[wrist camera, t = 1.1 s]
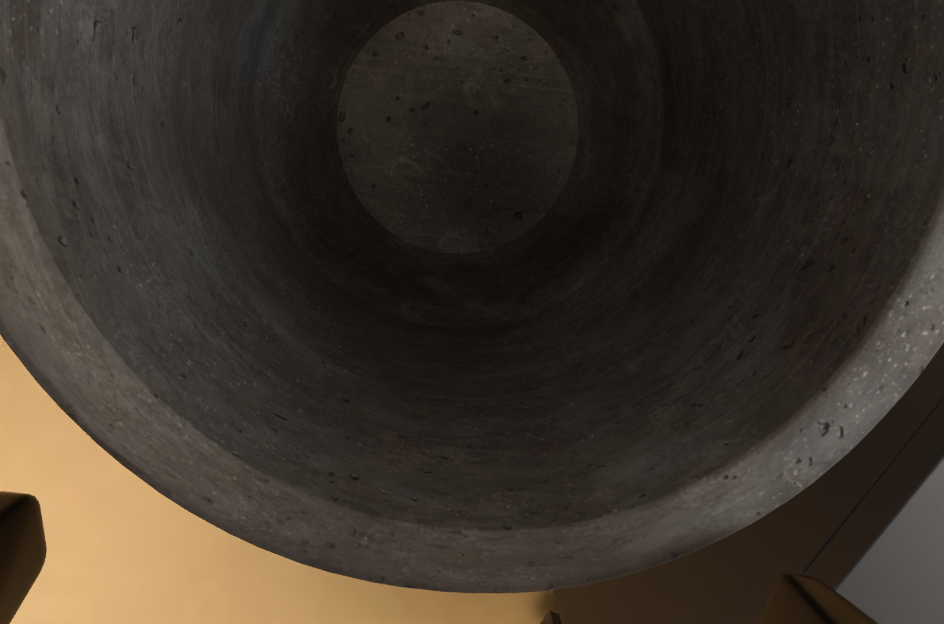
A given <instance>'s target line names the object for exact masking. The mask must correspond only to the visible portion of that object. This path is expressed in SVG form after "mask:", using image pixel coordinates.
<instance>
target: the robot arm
mask: <svg viewBox="0 0 944 624" xmlns="http://www.w3.org/2000/svg"><path fill="white" fill-rule="evenodd" d="M45 558H46V541H45V535H44V528H43V522H42V516H41V509H40V504H39V501H38V500H37V499H36V497H35V496H32V495H30V494H23V493H14V492H4V491H1V492H0V624H10V622H11V620H12V619H13V617H14V615H15V614H16V612H17V610H18V609H19V607H20V605H21V604H22V602H23V600H24V598H25V597H26V595H27V593H28V592H29V590H30V588H31V587H32V585H33V583H34V582H35V580H36V578H37V577H38V575H39V573H40V571H41V569H42V567H43V564H44V562H45ZM759 624H879V623H877V622H876V621H875V620H873V619H872V618H871V617H869V616H868V615H867V614H865V613H864V612H863V611H861V610H860V609H859V608H857V607H856V606H855V605H853V604H852V603H851V602H849V601H848V600H847V599H845V598H844V597H843V596H841V595H840V594H839V593H837V592H836V591H835V590H833V589H832V588H831V587H829V586H828V585H827V584H825V583H824V582H823V581H821V580H820V579H818V578H815V577H812V576H803V575H794V574H785V575H782V576H781V577H780V578H778V580H777V581H776V583H775V586H774V588H773V590H772V593H771V595H770V597H769V599H768V602H767V604H766V606H765V609H764V611H763V613H762V615H761V618H760V621H759Z"/></svg>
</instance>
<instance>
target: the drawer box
mask: <svg viewBox="0 0 944 624" xmlns="http://www.w3.org/2000/svg"><path fill="white" fill-rule="evenodd" d="M785 574H794V575H803V576H812V577H815V578H818V579H820V580H821V581H823V582H824V583H825V584H827V585H828V586H829V587H831V588H832V589H833V590H835V591H836V592H837V593H839V594H840V595H841V596H843V597H844V598H845V599H847V600H848V601H849V602H851V603H852V604H853V605H855V606H856V607H857V608H859V609H860V610H861V611H863V612H864V613H865V614H867V615H868V616H869V617H871V618H872V619H873V620H875V621H876V622H877V623H879V624H944V343H943V344H942V345H941V347H940V348H939V350H938V351H937V352H936V354H935V355H934V356H933V358H932V359H931V361H930V362H929V363H928V365H927V366H926V367H925V369H924V370H923V372H922V373H921V374H920V375H919V376H918V378H917V379H916V380H915V381H914V383H913V384H912V385H911V386H910V387H909V389H908V390H907V391H906V392H905V394H904V395H903V396H902V397H901V398H900V400H899V401H898V402H897V403H896V404H895V405H894V406H893V407H892V408H891V409H890V410H889V412H888V413H887V414H886V415H885V416H884V417H883V418H882V419H881V420H880V421H879V423H878V424H877V425H876V426H875V427H874V428H873V429H872V430H871V431H870V432H869V433H868V434H867V435H866V436H865V437H864V438H863V439H862V440H861V441H860V442H859V443H858V444H857V445H856V446H855V447H854V448H853V449H852V450H851V451H850V452H849V453H848V454H846V455H845V456H844V457H843V458H842V459H841V460H839V461H838V462H837V463H836V464H835V465H834V466H832V467H831V468H830V469H829V470H828V471H826V472H825V473H824V474H823V475H822V476H821V477H819V478H818V479H817V480H816V481H815V482H813V483H812V484H811V485H809V486H808V487H807V488H805V489H804V490H802V491H801V492H800V493H798V494H797V495H796V496H794V497H793V498H792V499H790V500H789V501H787V502H786V503H784V504H782V505H781V506H779V507H778V508H776V509H774V510H773V511H771V512H770V513H768V514H766V515H765V516H763V517H762V518H760V519H759V520H757V521H755V522H754V523H752V524H750V525H748V526H746V527H744V528H743V529H741V530H739V531H737V532H735V533H733V534H731V535H730V536H728V537H726V538H724V539H721V540H719V541H717V542H715V543H712V544H710V545H708V546H706V547H704V548H701V549H699V550H697V551H695V552H693V553H690V554H688V555H686V556H683V557H680V558H678V559H675V560H672V561H670V562H667V563H664V564H662V565H659V566H656V567H652V568H649V569H646V570H642V571H639V572H636V573H632V574H629V575H626V576H622V577H619V578H615V579H610V580H606V581H602V582H597V583H593V584H588V585H581V586H575V587H568V588H561V589H555V590H553V593H554V597H555V600H556V604H557V608H558V611H559V615H560V619H561V623H562V624H759V621H760V618H761V615H762V613H763V611H764V609H765V606H766V604H767V602H768V599H769V597H770V595H771V593H772V590H773V588H774V586H775V583H776V581H777V580H778V578H780V577H781V576H782V575H785Z"/></svg>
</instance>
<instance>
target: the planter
mask: <svg viewBox="0 0 944 624" xmlns="http://www.w3.org/2000/svg"><path fill="white" fill-rule="evenodd" d="M0 335H1V336H2V337H3V339H4V340H5V342H6V343H7V344H8V345H9V347H10V348H11V349H12V350H13V352H14V353H15V354H16V356H17V357H18V358H19V359H20V361H21V362H22V363H23V365H24V366H25V367H26V368H27V370H28V371H29V372H30V374H31V375H32V376H33V377H34V379H35V380H36V381H37V382H38V383H39V384H40V386H41V387H42V388H43V389H44V390H45V391H46V392H47V393H48V395H49V396H50V397H51V398H52V399H53V400H54V401H55V402H56V403H57V405H58V406H59V407H60V408H61V409H62V410H63V411H64V412H65V413H66V414H67V415H68V416H69V417H70V418H71V419H72V420H73V421H74V422H75V423H76V424H77V425H79V426H80V427H81V428H82V429H83V430H84V431H85V432H86V433H87V434H88V435H89V436H90V437H91V438H92V439H93V440H94V441H95V442H96V443H97V444H98V445H99V446H101V447H102V448H103V449H104V450H105V451H107V452H108V453H109V454H110V455H111V456H112V457H114V458H115V459H116V460H117V461H118V462H119V463H121V464H122V465H123V466H124V467H126V468H127V469H128V470H130V471H131V472H132V473H134V474H135V475H137V476H138V477H139V478H141V479H142V480H143V481H145V482H146V483H147V484H149V485H150V486H151V487H153V488H154V489H155V490H157V491H158V492H159V493H161V494H162V495H164V496H166V497H167V498H169V499H170V500H172V501H173V502H175V503H176V504H178V505H180V506H181V507H183V508H184V509H186V510H187V511H189V512H191V513H193V514H194V515H196V516H198V517H200V518H202V519H204V520H205V521H207V522H209V523H211V524H213V525H214V526H216V527H218V528H220V529H222V530H224V531H225V532H227V533H229V534H231V535H233V536H236V537H238V538H240V539H242V540H244V541H246V542H248V543H251V544H253V545H255V546H257V547H259V548H262V549H265V550H267V551H270V552H272V553H275V554H278V555H280V556H283V557H285V558H288V559H291V560H293V561H296V562H298V563H301V564H305V565H308V566H311V567H314V568H318V569H321V570H324V571H327V572H331V573H335V574H339V575H344V576H348V577H352V578H356V579H361V580H365V581H369V582H374V583H380V584H386V585H392V586H398V587H405V588H414V589H423V590H433V591H442V592H459V593H522V592H536V591H548V590H555V589H561V588H568V587H575V586H581V585H588V584H593V583H597V582H602V581H606V580H610V579H615V578H619V577H622V576H626V575H629V574H632V573H636V572H639V571H642V570H646V569H649V568H652V567H656V566H659V565H662V564H664V563H667V562H670V561H672V560H675V559H678V558H680V557H683V556H686V555H688V554H690V553H693V552H695V551H697V550H699V549H701V548H704V547H706V546H708V545H710V544H712V543H715V542H717V541H719V540H721V539H724V538H726V537H728V536H730V535H731V534H733V533H735V532H737V531H739V530H741V529H743V528H744V527H746V526H748V525H750V524H752V523H754V522H755V521H757V520H759V519H760V518H762V517H763V516H765V515H766V514H768V513H770V512H771V511H773V510H774V509H776V508H778V507H779V506H781V505H782V504H784V503H786V502H787V501H789V500H790V499H792V498H793V497H794V496H796V495H797V494H798V493H800V492H801V491H802V490H804V489H805V488H807V487H808V486H809V485H811V484H812V483H813V482H815V481H816V480H817V479H818V478H819V477H821V476H822V475H823V474H824V473H825V472H826V471H828V470H829V469H830V468H831V467H832V466H834V465H835V464H836V463H837V462H838V461H839V460H841V459H842V458H843V457H844V456H845V455H846V454H848V453H849V452H850V451H851V450H852V449H853V448H854V447H855V446H856V445H857V444H858V443H859V442H860V441H861V440H862V439H863V438H864V437H865V436H866V435H867V434H868V433H869V432H870V431H871V430H872V429H873V428H874V427H875V426H876V425H877V424H878V423H879V421H880V420H881V419H882V418H883V417H884V416H885V415H886V414H887V413H888V412H889V410H890V409H891V408H892V407H893V406H894V405H895V404H896V403H897V402H898V401H899V400H900V398H901V397H902V396H903V395H904V394H905V392H906V391H907V390H908V389H909V387H910V386H911V385H912V384H913V383H914V381H915V380H916V379H917V378H918V376H919V375H920V374H921V373H922V372H923V370H924V369H925V367H926V366H927V365H928V363H929V362H930V361H931V359H932V358H933V356H934V355H935V354H936V352H937V351H938V350H939V348H940V347H941V345H942V344H943V343H944V0H0Z"/></svg>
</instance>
